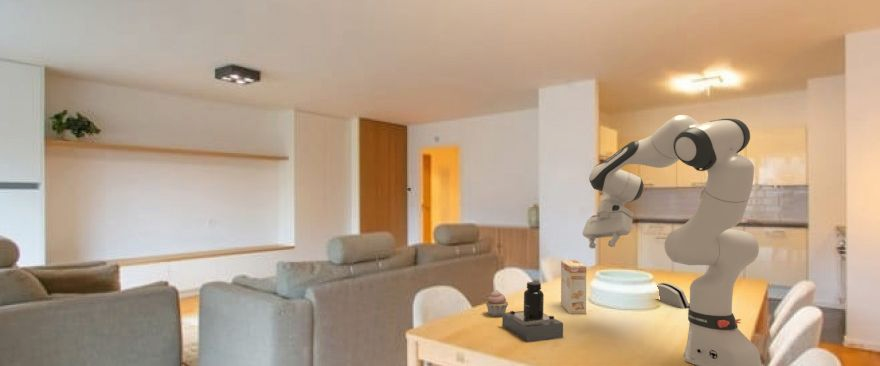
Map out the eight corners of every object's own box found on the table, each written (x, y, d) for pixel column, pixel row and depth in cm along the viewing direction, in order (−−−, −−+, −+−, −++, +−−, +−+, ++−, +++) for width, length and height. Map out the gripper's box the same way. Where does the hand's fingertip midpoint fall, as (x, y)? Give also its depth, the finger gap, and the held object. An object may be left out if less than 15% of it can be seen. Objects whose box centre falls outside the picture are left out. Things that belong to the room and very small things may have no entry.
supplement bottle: (521, 318, 165) (521, 283, 165) (527, 313, 171) (527, 280, 171) (540, 321, 162) (540, 285, 162) (545, 316, 168) (545, 282, 168)
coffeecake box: (586, 314, 191) (587, 265, 191) (569, 314, 191) (569, 265, 191) (576, 304, 206) (577, 259, 206) (560, 304, 206) (560, 259, 206)
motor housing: (563, 337, 162) (563, 318, 162) (526, 342, 157) (526, 322, 157) (531, 320, 181) (531, 304, 181) (498, 324, 177) (498, 307, 177)
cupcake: (509, 312, 193) (509, 288, 193) (506, 318, 184) (506, 293, 184) (487, 310, 196) (487, 286, 196) (483, 317, 187) (483, 291, 187)
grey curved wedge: (692, 308, 200) (685, 286, 199) (683, 312, 199) (676, 290, 198) (666, 298, 216) (659, 278, 216) (657, 302, 215) (650, 282, 215)
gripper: (583, 212, 183) (574, 245, 178) (625, 205, 165) (616, 241, 160) (595, 219, 185) (587, 252, 180) (638, 213, 167) (629, 249, 162)
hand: (601, 247), depth 170 cm, fingers open, 8 cm apart
